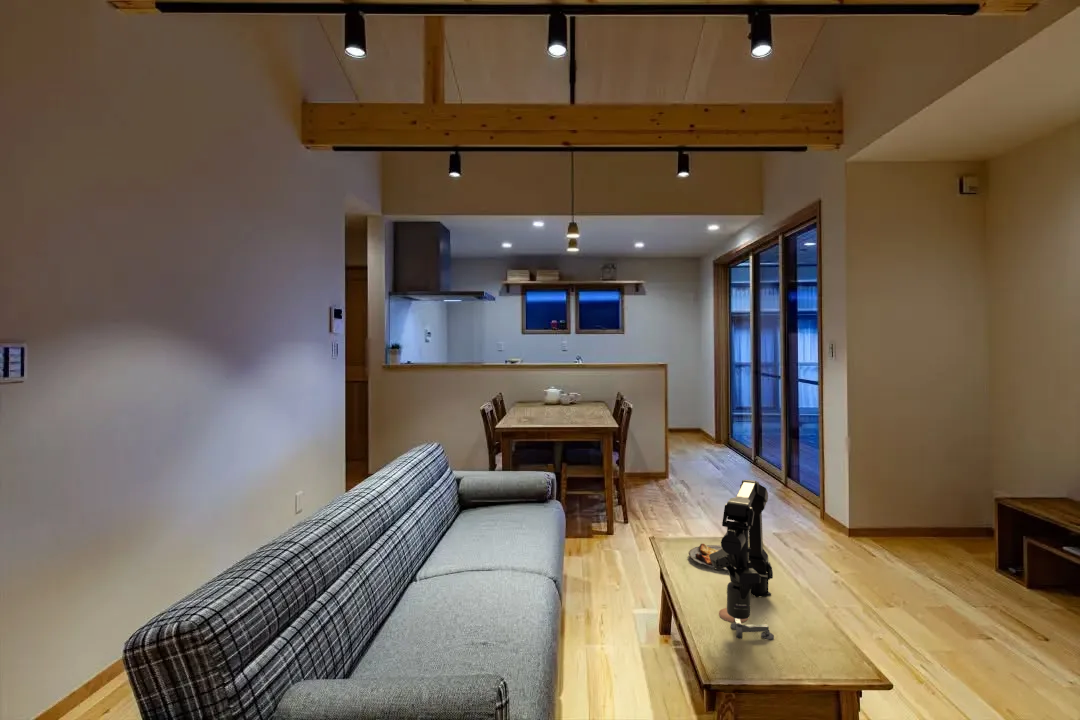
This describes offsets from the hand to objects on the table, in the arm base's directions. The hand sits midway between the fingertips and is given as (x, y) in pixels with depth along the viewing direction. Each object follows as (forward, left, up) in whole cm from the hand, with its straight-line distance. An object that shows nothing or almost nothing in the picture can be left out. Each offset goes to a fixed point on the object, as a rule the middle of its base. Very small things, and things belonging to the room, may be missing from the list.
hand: (738, 593), depth 169 cm
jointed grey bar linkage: (-4, 0, -13) cm, 13 cm away
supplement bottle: (0, 0, -7) cm, 7 cm away
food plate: (-27, -51, -13) cm, 59 cm away
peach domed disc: (-5, -10, -13) cm, 17 cm away
